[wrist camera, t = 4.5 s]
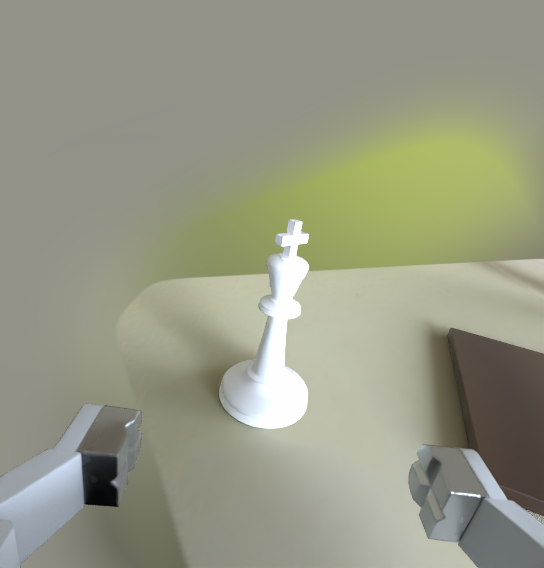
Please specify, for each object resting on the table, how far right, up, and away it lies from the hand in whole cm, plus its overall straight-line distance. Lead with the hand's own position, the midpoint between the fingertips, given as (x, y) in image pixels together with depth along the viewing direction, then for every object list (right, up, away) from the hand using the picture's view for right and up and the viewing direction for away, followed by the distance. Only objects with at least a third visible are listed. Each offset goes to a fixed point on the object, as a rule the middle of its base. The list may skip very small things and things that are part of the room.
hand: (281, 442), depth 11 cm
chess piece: (-1, -2, +10) cm, 10 cm away
